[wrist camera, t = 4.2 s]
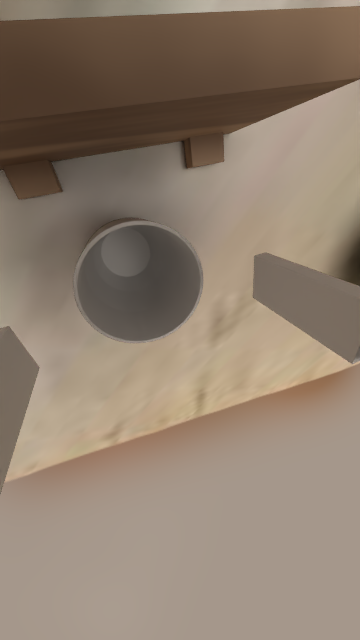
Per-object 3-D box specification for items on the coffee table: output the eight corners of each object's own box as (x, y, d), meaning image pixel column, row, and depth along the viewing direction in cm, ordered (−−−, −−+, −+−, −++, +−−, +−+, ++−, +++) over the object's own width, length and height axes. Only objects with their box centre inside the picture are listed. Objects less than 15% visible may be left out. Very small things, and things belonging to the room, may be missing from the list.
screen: (-55, 95, 14) (-437, -144, 4) (228, 68, 17) (401, -88, 8) (3, 202, 17) (-121, 219, 7) (230, 160, 21) (351, 134, 11)
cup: (147, 299, 25) (173, 351, 17) (72, 276, 21) (58, 330, 13) (177, 231, 22) (223, 254, 14) (96, 190, 18) (97, 190, 10)
